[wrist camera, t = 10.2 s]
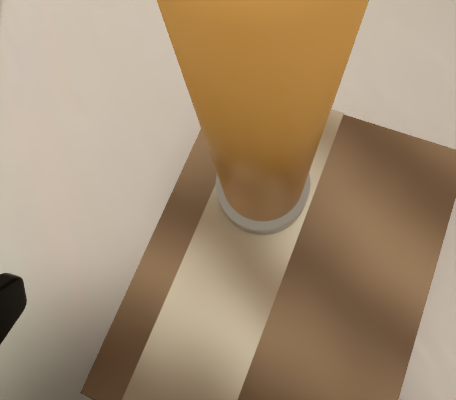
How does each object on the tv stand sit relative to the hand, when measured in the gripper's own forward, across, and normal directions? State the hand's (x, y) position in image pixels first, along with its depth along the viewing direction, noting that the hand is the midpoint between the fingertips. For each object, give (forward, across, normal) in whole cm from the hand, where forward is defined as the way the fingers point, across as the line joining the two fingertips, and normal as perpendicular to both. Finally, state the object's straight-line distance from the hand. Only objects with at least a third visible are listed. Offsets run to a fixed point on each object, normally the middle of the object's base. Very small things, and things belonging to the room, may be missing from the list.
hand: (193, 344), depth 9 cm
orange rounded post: (+10, 0, +1) cm, 10 cm away
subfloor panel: (+8, -2, +4) cm, 9 cm away
